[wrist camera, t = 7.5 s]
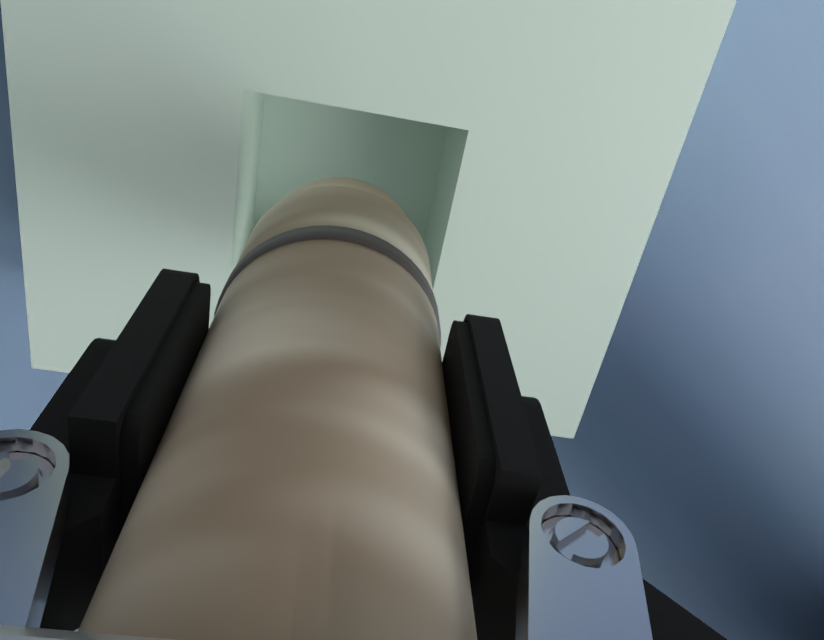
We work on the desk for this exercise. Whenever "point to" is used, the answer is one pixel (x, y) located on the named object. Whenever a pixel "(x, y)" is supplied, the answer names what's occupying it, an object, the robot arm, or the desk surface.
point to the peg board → (355, 151)
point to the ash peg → (305, 449)
